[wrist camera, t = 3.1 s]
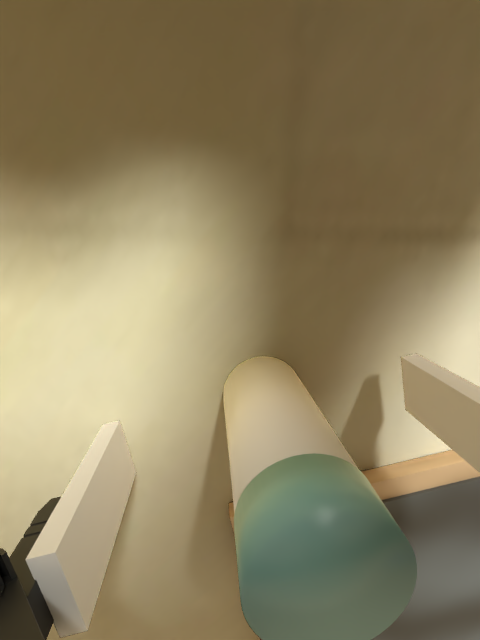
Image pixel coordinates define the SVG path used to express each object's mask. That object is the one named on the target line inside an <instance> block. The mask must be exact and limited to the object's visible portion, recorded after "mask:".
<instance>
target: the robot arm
mask: <svg viewBox="0 0 480 640" xmlns="http://www.w3.org/2000/svg"><path fill="white" fill-rule="evenodd" d="M401 366H402V378H403V389H404V400H405V410H406V411H408V412H409V413H410V414H411V415H412V416H414V417H415V418H416V419H417V420H418V421H419V422H421V423H422V424H423V425H424V426H425V427H426V428H428V429H429V430H430V431H431V432H432V433H433V434H435V435H436V436H437V437H438V438H439V439H441V440H442V441H443V442H444V443H445V444H446V445H448V446H449V447H450V448H451V449H452V450H453V451H455V452H456V453H457V454H458V455H459V456H460V457H462V458H463V459H464V460H465V461H466V462H468V463H469V464H470V465H471V466H472V467H473V468H475V469H476V470H477V471H478V472H479V473H480V387H479V386H477V385H475V384H473V383H471V382H469V381H467V380H465V379H464V378H462V377H460V376H458V375H456V374H454V373H452V372H451V371H449V370H447V369H445V368H443V367H441V366H439V365H438V364H436V363H434V362H432V361H430V360H428V359H426V358H424V357H423V356H421V355H419V354H417V353H415V354H411V355H406V356H402V357H401ZM135 475H136V470H135V467H134V463H133V460H132V457H131V454H130V451H129V448H128V444H127V441H126V438H125V435H124V432H123V429H122V426H121V422H120V420H119V421H114V422H110V423H105V424H103V425H102V426H101V428H100V430H99V432H98V433H97V435H96V437H95V439H94V440H93V442H92V444H91V446H90V447H89V449H88V451H87V453H86V454H85V456H84V458H83V460H82V461H81V463H80V465H79V467H78V468H77V470H76V472H75V474H74V475H73V477H72V479H71V481H70V482H69V484H68V486H67V488H66V489H65V491H64V493H63V495H62V496H61V497H57V498H53V499H51V500H50V501H49V502H48V503H47V504H46V505H45V506H44V507H43V508H42V509H41V510H40V511H39V512H38V513H37V515H36V516H35V518H34V520H33V521H32V523H31V524H30V525H31V526H30V527H29V528H28V529H27V531H26V532H25V534H24V538H22V539H21V540H20V542H19V544H18V545H17V547H16V548H15V550H14V552H13V553H12V555H11V556H10V558H9V557H8V555H7V552H6V551H4V550H3V549H0V640H46V639H47V636H48V634H49V631H50V629H51V627H52V624H53V623H54V625H55V628H56V630H57V632H58V634H59V637H60V638H62V637H66V636H70V635H73V634H77V633H81V632H85V631H88V628H89V625H90V622H91V619H92V615H93V612H94V609H95V606H96V602H97V599H98V596H99V593H100V589H101V586H102V583H103V580H104V576H105V573H106V570H107V566H108V563H109V560H110V557H111V553H112V550H113V547H114V544H115V540H116V537H117V534H118V531H119V527H120V524H121V521H122V518H123V514H124V511H125V508H126V504H127V501H128V498H129V495H130V491H131V488H132V485H133V482H134V478H135Z"/></svg>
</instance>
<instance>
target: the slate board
mask: <svg viewBox="0 0 480 640" xmlns="http://www.w3.org/2000/svg"><path fill="white" fill-rule="evenodd" d="M362 473H363V474H364V475H365V477H366V478H367V479H368V481H369V482H370V484H371V485H372V487H373V488H374V490H375V491H376V493H377V494H378V496H379V497H380V499H381V500H382V502H383V503H384V505H385V506H386V508H387V509H388V511H389V512H390V514H391V515H392V517H393V518H394V520H395V521H396V523H397V524H398V526H399V527H400V529H401V530H402V532H403V533H404V535H405V536H406V538H407V539H408V541H409V543H410V545H411V546H412V548H413V551H414V554H415V557H416V562H417V579H416V585H415V588H414V591H413V594H412V596H411V598H410V601H409V603H408V604H407V606H406V607H405V609H404V611H403V612H402V613H401V614H400V616H399V617H398V618H397V619H396V620H395V621H394V622H393V623H392V624H391V625H390V626H389V627H388V628H387V629H386V630H384V631H383V632H382V633H381V634H379V635H378V636H376V637H375V638H373V639H371V640H480V473H479V472H478V471H477V470H476V469H475V468H473V467H472V466H471V465H470V464H469V463H468V462H466V461H465V460H464V459H463V458H462V457H460V456H459V455H458V454H457V453H456V452H455V451H453V450H450V451H445V452H441V453H437V454H433V455H429V456H424V457H420V458H416V459H412V460H408V461H403V462H399V463H395V464H391V465H387V466H383V467H378V468H374V469H370V470H366V471H362ZM229 515H230V521H231V525H232V529H233V533H234V504H233V502H232V503H229ZM234 537H235V533H234ZM260 640H262V639H261V638H260Z"/></svg>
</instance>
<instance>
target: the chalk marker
mask: <svg viewBox="0 0 480 640" xmlns="http://www.w3.org/2000/svg"><path fill="white" fill-rule="evenodd" d="M223 401H224V411H225V421H226V432H227V442H228V452H229V463H230V473H231V483H232V494H233V504H234V533H235V544H236V556H237V567H238V578H239V589H240V600H241V606H242V611H243V614H244V617H245V619H246V621H247V623H248V624H249V626H250V627H251V629H252V630H253V631H254V632H255V634H256V635H258V636H259V637H260V638H261V639H262V640H371V639H373V638H375V637H376V636H378V635H379V634H381V633H382V632H383V631H384V630H386V629H387V628H388V627H389V626H390V625H391V624H392V623H393V622H394V621H395V620H396V619H397V618H398V617H399V616H400V614H401V613H402V612H403V611H404V609H405V607H406V606H407V604H408V603H409V601H410V598H411V596H412V594H413V591H414V588H415V585H416V579H417V562H416V557H415V554H414V551H413V548H412V546H411V545H410V543H409V541H408V539H407V538H406V536H405V535H404V533H403V532H402V530H401V529H400V527H399V526H398V524H397V523H396V521H395V520H394V518H393V517H392V515H391V514H390V512H389V511H388V509H387V508H386V506H385V505H384V503H383V502H382V500H381V499H380V497H379V496H378V494H377V493H376V491H375V490H374V488H373V487H372V485H371V484H370V482H369V481H368V479H367V478H366V477H365V475H364V474H363V473H362V472H361V471H360V470H359V469H358V467H357V466H356V464H355V463H354V461H353V460H352V458H351V457H350V455H349V453H348V452H347V450H346V449H345V447H344V446H343V444H342V443H341V441H340V440H339V438H338V437H337V435H336V434H335V432H334V431H333V429H332V428H331V426H330V425H329V423H328V421H327V420H326V418H325V417H324V415H323V414H322V412H321V411H320V409H319V408H318V406H317V405H316V403H315V402H314V400H313V399H312V397H311V396H310V394H309V392H308V391H307V389H306V388H305V386H304V385H303V383H302V382H301V380H300V379H299V377H298V376H297V374H296V373H295V371H294V370H293V369H292V368H291V367H290V366H289V365H288V364H287V363H285V362H284V361H282V360H280V359H277V358H274V357H269V356H259V357H254V358H250V359H248V360H245V361H244V362H242V363H240V364H239V365H238V366H236V367H235V368H234V369H233V370H232V372H231V373H230V374H229V376H228V378H227V380H226V382H225V385H224V389H223Z"/></svg>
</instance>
